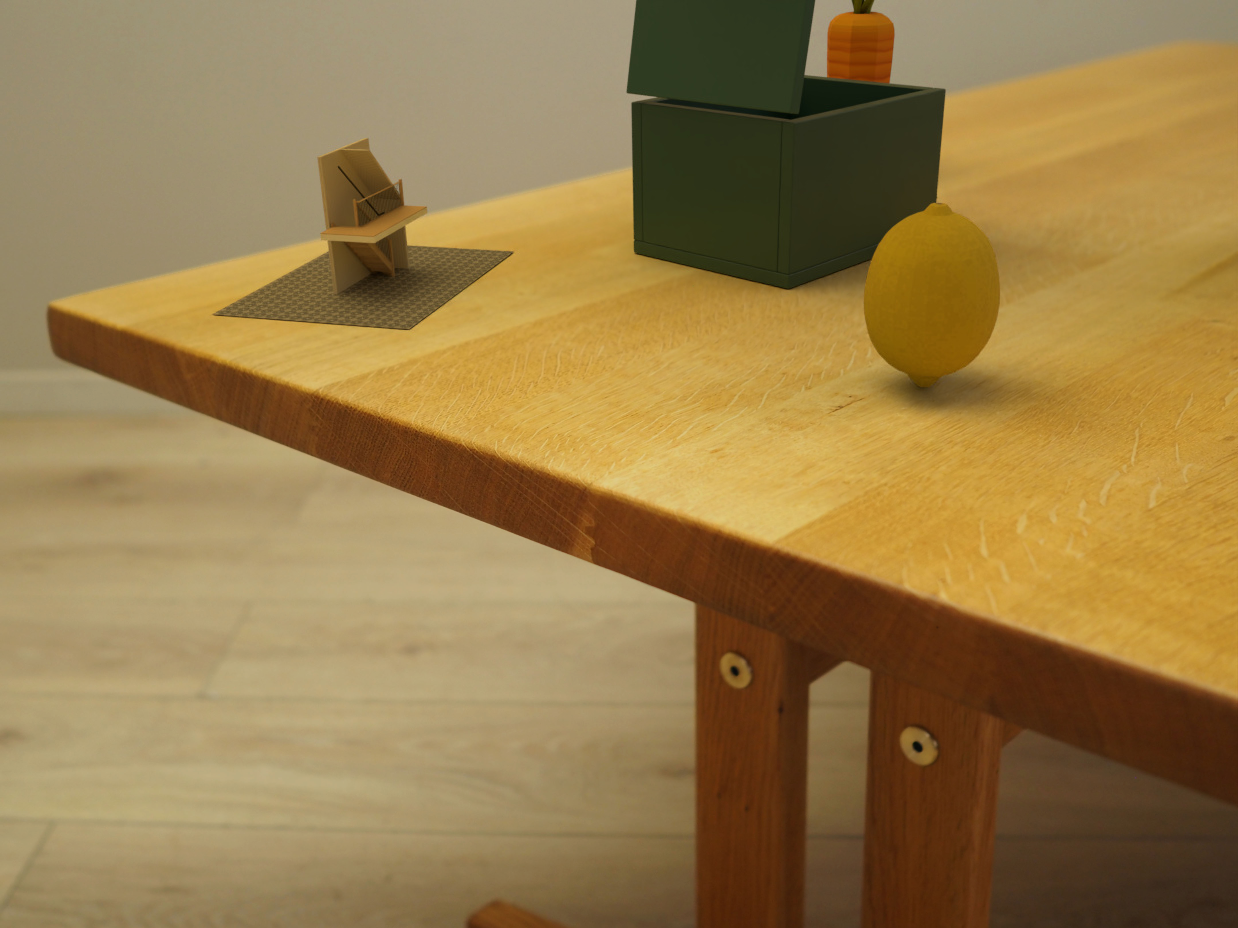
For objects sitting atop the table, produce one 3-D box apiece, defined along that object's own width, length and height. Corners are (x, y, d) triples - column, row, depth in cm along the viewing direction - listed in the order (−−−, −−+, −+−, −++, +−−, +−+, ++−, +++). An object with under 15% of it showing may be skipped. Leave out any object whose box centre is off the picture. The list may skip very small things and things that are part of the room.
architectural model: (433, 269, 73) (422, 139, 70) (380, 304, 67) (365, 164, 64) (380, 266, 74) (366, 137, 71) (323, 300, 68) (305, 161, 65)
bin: (783, 208, 85) (787, 73, 81) (933, 236, 77) (946, 88, 74) (633, 253, 75) (630, 102, 72) (788, 289, 68) (794, 123, 64)
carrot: (831, 163, 98) (841, -44, 92) (893, 168, 96) (908, -44, 90) (810, 176, 94) (820, -40, 88) (876, 181, 92) (890, -40, 86)
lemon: (837, 394, 54) (847, 209, 50) (890, 357, 58) (902, 183, 55) (961, 420, 51) (981, 225, 48) (1008, 379, 55) (1029, 197, 52)
